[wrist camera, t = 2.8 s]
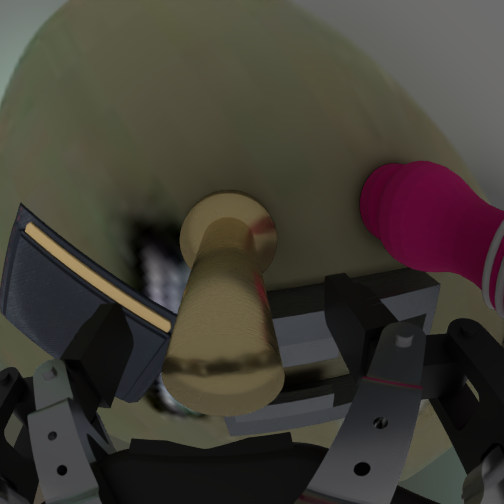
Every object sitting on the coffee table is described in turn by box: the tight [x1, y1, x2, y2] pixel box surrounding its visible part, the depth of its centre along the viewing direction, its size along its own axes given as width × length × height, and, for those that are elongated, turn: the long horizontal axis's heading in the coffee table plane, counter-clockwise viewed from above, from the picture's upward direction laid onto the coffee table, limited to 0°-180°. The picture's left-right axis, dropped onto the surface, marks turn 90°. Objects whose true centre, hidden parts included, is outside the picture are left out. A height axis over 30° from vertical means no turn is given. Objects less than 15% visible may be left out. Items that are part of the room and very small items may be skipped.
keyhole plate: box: [223, 267, 441, 436], centre depth 22 cm, size 19×14×4 cm
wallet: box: [0, 203, 177, 403], centre depth 22 cm, size 20×2×15 cm
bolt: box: [162, 190, 285, 417], centre depth 13 cm, size 6×6×14 cm
